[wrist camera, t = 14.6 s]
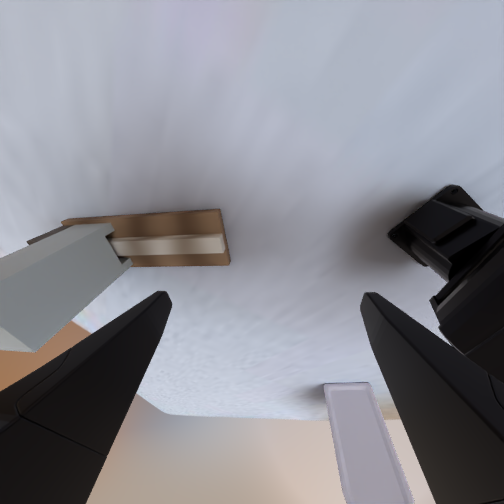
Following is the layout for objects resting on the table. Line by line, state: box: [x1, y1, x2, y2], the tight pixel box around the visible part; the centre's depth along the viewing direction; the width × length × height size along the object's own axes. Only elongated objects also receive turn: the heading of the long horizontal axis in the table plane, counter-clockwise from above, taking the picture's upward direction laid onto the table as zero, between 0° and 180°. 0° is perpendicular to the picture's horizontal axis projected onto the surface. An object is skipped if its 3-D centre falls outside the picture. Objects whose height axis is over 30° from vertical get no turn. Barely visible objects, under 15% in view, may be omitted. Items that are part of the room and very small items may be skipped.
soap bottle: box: [324, 382, 415, 504], centre depth 29 cm, size 9×7×23 cm
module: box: [0, 223, 133, 352], centre depth 18 cm, size 5×6×12 cm
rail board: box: [26, 209, 231, 267], centre depth 21 cm, size 20×7×5 cm, turn 96°
